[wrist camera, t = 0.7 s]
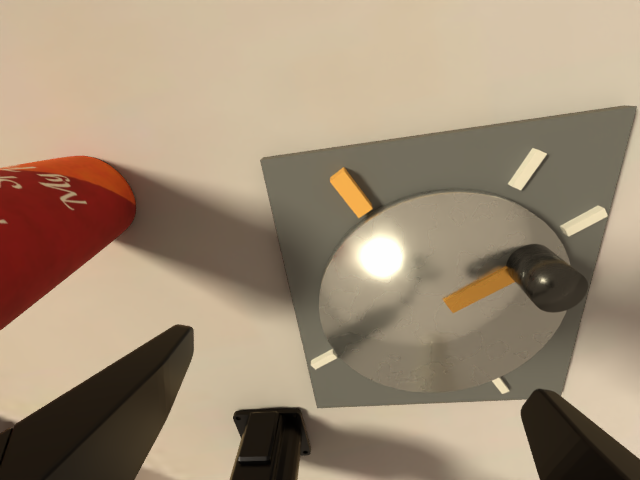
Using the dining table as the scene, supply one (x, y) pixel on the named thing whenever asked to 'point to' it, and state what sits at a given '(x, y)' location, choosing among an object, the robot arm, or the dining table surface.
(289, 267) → the grey dial base plate
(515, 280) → the dial
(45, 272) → the paper cup
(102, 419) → the robot arm
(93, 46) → the dining table surface
